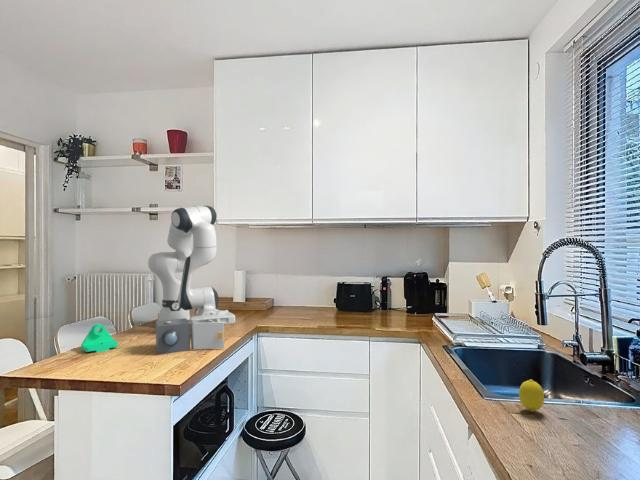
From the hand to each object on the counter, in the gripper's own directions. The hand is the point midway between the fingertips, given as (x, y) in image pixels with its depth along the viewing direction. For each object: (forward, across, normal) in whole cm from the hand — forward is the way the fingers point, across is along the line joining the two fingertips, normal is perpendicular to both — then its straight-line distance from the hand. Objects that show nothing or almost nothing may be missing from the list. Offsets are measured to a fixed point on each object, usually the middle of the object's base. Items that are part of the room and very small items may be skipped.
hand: (215, 323), depth 176 cm
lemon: (+113, +54, +5) cm, 126 cm away
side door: (+14, -6, +7) cm, 17 cm away
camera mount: (-8, -45, +8) cm, 47 cm away
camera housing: (+7, -19, +8) cm, 21 cm away
